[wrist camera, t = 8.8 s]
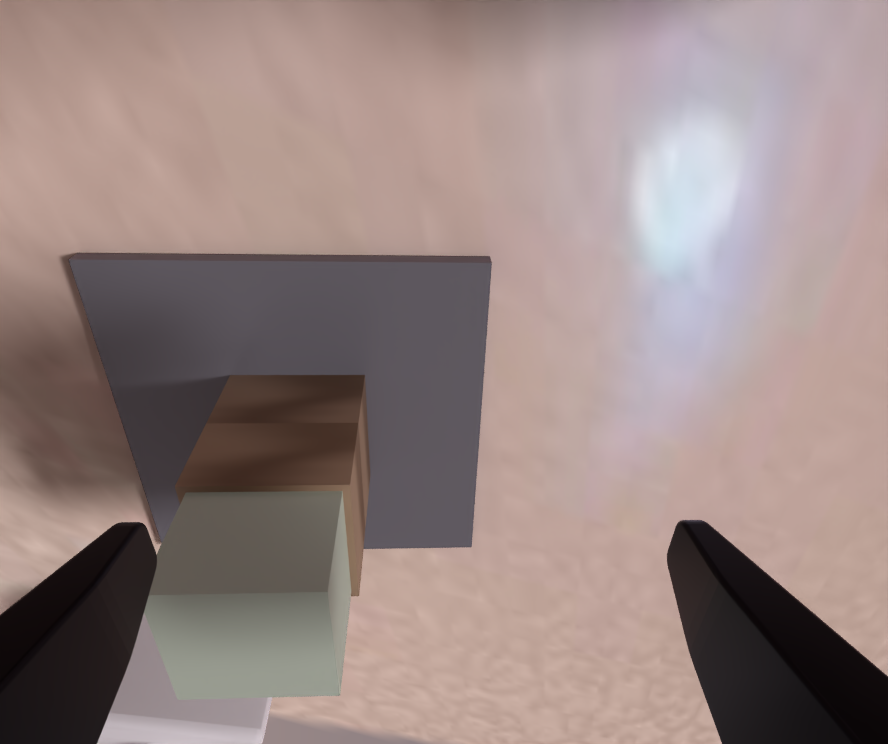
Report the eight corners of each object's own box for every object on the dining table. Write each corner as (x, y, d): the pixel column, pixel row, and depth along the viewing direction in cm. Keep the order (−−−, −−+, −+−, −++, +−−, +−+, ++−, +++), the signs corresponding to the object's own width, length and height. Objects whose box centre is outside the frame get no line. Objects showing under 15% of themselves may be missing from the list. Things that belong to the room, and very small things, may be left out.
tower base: (365, 374, 22) (358, 422, 20) (370, 475, 25) (365, 528, 22) (230, 375, 22) (206, 423, 19) (250, 476, 25) (231, 530, 22)
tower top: (358, 422, 20) (350, 484, 17) (365, 528, 22) (359, 596, 20) (206, 423, 19) (174, 486, 17) (231, 530, 22) (207, 598, 20)
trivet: (489, 256, 21) (491, 263, 20) (470, 537, 28) (471, 547, 27) (77, 253, 20) (68, 259, 19) (169, 541, 27) (164, 551, 27)
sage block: (342, 490, 17) (327, 591, 14) (351, 591, 20) (339, 695, 17) (185, 492, 17) (137, 595, 14) (214, 593, 19) (177, 699, 16)
